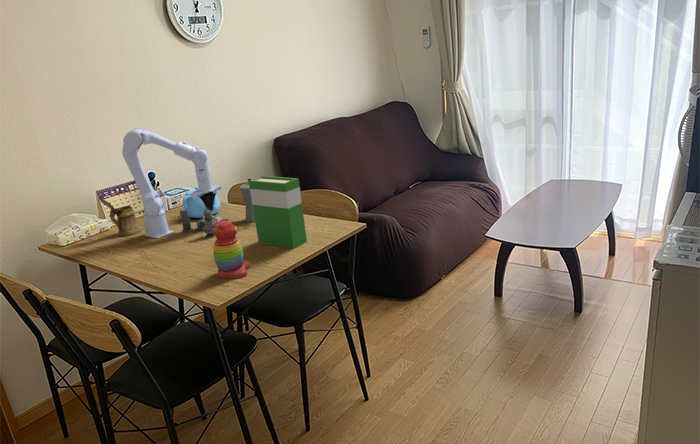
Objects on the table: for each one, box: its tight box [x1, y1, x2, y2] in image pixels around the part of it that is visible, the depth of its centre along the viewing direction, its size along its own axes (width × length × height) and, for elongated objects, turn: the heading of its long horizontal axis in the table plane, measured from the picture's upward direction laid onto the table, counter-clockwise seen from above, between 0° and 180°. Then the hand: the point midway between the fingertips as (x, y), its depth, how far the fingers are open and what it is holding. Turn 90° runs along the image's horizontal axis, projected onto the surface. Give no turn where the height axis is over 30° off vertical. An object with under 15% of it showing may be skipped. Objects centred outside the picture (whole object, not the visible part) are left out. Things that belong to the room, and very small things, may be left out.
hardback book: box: [248, 175, 308, 250], centre depth 190 cm, size 18×7×24 cm, turn 55°
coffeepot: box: [239, 178, 255, 223], centre depth 221 cm, size 15×9×18 cm, turn 37°
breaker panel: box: [196, 215, 229, 230], centre depth 219 cm, size 11×8×4 cm
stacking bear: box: [213, 219, 250, 279], centre depth 167 cm, size 11×10×18 cm
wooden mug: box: [99, 197, 142, 237], centre depth 220 cm, size 9×14×18 cm, turn 139°
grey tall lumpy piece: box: [202, 207, 216, 239], centre depth 207 cm, size 6×6×12 cm
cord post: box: [179, 209, 194, 234], centre depth 217 cm, size 4×4×9 cm
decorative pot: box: [182, 185, 222, 220], centre depth 237 cm, size 16×16×14 cm
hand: (210, 210), depth 218 cm, fingers closed
